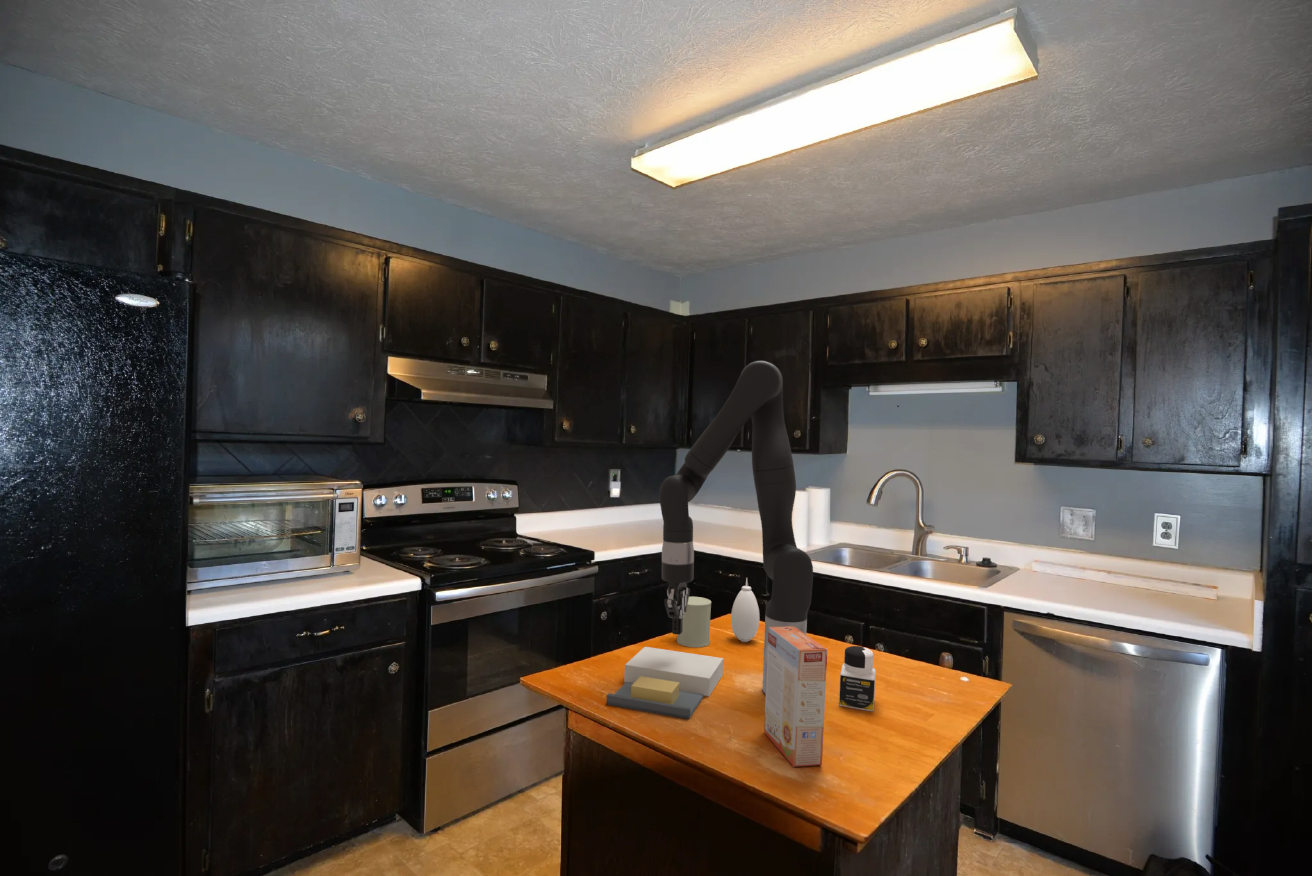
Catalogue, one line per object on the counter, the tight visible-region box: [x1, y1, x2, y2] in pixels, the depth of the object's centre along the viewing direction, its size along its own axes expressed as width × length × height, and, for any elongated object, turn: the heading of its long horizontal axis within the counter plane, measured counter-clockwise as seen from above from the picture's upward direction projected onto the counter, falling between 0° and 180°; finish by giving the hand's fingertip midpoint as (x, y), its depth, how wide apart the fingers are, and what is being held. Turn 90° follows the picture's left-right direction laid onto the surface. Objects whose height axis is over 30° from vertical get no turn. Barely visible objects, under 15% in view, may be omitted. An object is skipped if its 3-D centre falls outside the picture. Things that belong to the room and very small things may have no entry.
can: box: [676, 596, 712, 648], centre depth 181 cm, size 9×9×12 cm
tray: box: [606, 682, 705, 721], centre depth 140 cm, size 18×12×2 cm, turn 72°
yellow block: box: [631, 676, 680, 705], centre depth 140 cm, size 9×6×3 cm, turn 72°
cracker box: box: [763, 626, 828, 768], centre depth 121 cm, size 14×6×21 cm, turn 12°
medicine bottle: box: [838, 645, 877, 712], centre depth 143 cm, size 7×7×12 cm
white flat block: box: [623, 646, 724, 697], centre depth 153 cm, size 20×14×4 cm
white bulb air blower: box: [730, 577, 760, 643], centre depth 183 cm, size 8×8×18 cm
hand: (677, 633), depth 153 cm, fingers closed
